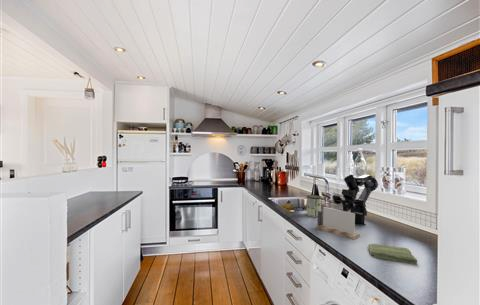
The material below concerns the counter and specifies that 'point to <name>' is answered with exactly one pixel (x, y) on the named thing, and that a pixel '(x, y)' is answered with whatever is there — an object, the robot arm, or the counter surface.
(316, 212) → the glass jar
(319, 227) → the door base
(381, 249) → the washcloth
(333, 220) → the door
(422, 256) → the counter surface
